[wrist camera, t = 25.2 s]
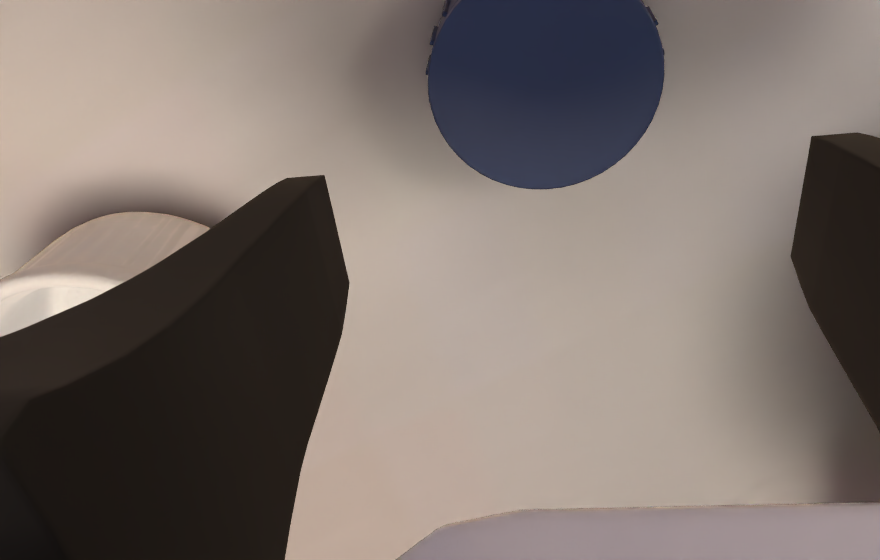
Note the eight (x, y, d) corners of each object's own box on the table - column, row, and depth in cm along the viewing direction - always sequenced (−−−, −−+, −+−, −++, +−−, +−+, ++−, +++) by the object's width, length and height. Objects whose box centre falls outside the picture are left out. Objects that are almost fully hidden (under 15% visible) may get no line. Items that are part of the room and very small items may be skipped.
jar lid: (661, -72, 16) (676, -56, 14) (648, 153, 19) (660, 185, 17) (417, -47, 16) (410, -30, 15) (442, 167, 19) (438, 199, 18)
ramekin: (-9, 176, 20) (-117, 262, 17) (310, 202, 20) (269, 295, 17) (67, 407, 25) (-4, 511, 22) (322, 430, 25) (293, 538, 22)
